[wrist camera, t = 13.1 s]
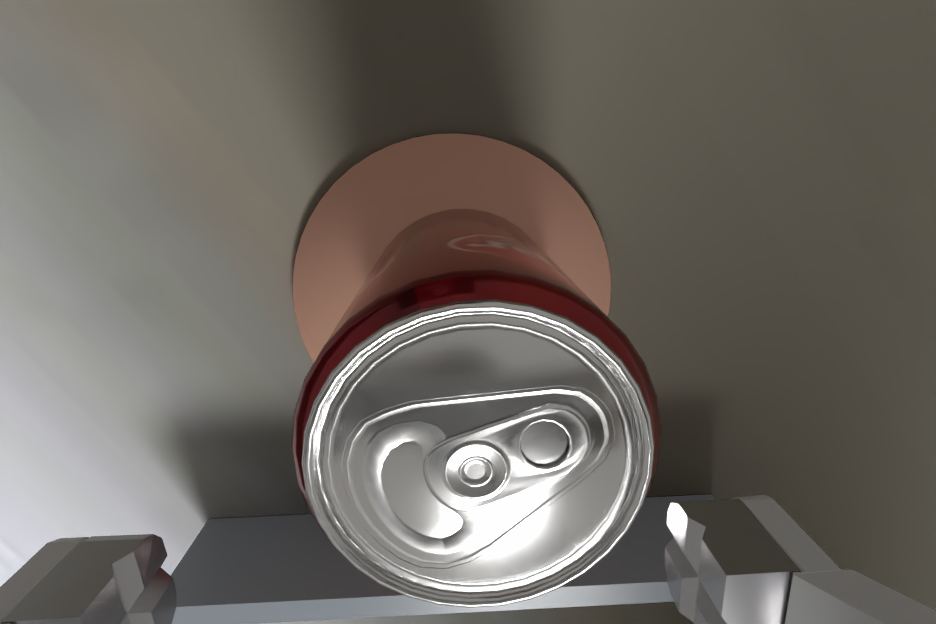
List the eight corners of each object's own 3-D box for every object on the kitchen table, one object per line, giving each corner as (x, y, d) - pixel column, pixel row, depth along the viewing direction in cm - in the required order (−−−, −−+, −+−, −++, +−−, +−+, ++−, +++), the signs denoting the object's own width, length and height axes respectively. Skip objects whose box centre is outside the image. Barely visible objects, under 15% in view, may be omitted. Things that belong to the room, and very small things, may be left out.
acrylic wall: (711, 494, 25) (773, 576, 20) (709, 511, 25) (769, 596, 20) (208, 519, 24) (148, 608, 20) (212, 536, 25) (154, 628, 20)
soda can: (409, 400, 22) (370, 662, 11) (344, 242, 20) (209, 361, 9) (570, 347, 22) (707, 563, 10) (520, 180, 20) (624, 220, 8)
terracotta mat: (671, 247, 21) (675, 249, 21) (499, 481, 24) (500, 486, 24) (394, 62, 19) (392, 60, 18) (243, 347, 22) (239, 350, 21)
